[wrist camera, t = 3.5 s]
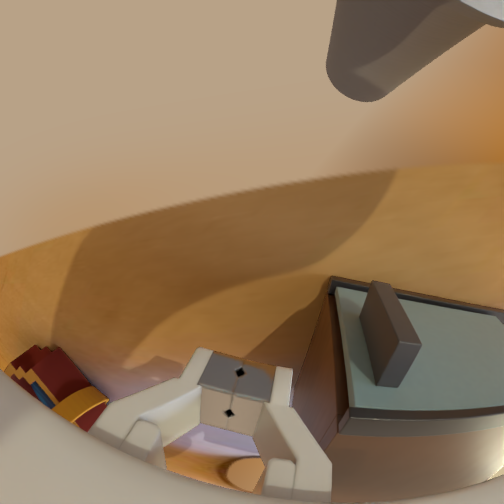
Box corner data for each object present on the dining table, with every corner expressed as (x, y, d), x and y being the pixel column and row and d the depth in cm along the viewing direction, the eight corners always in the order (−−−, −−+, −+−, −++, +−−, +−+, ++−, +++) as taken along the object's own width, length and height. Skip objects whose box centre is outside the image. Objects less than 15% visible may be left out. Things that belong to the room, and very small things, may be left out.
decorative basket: (45, 303, 32) (-36, 342, 18) (189, 456, 30) (133, 534, 16) (33, 386, 44) (-9, 414, 31) (121, 478, 42) (86, 517, 28)
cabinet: (331, 275, 21) (349, 417, 8) (532, 315, 18) (594, 387, 5) (294, 388, 25) (276, 511, 13) (480, 400, 22) (513, 480, 10)
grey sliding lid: (345, 253, 19) (380, 359, 8) (506, 291, 17) (576, 363, 6) (334, 293, 20) (349, 415, 10) (493, 321, 18) (552, 401, 8)
